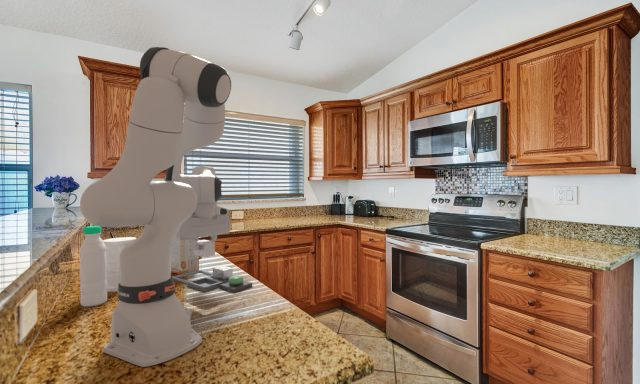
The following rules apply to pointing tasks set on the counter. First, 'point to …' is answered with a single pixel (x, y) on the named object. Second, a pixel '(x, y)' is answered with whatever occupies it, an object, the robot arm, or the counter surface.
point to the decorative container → (114, 260)
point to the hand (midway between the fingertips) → (204, 248)
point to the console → (235, 286)
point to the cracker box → (183, 257)
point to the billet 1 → (205, 248)
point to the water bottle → (93, 268)
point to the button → (235, 280)
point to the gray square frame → (189, 274)
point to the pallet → (206, 283)
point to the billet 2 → (222, 273)
